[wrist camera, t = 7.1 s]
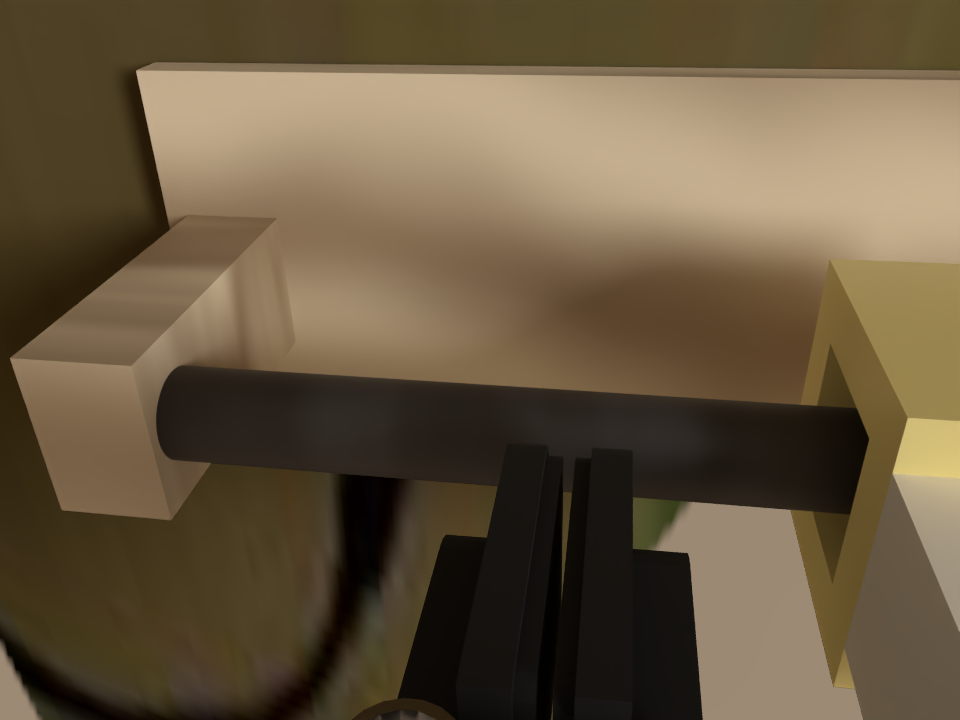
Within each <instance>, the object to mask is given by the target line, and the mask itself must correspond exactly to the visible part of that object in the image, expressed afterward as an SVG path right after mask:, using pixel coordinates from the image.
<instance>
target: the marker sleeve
mask: <svg viewBox="0 0 960 720" xmlns="http://www.w3.org/2000/svg"><path fill="white" fill-rule="evenodd" d="M801 405H814V406H830V407H845V408H857V410H858V412H859V415H860V417H861V419H862V422H863V424H864V427H865V429H866V432H867V434H868V437H869V442H868V446H867V450H866V454H865V458H864V462H863V466H862V470H861V474H860V478H859V482H858V486H857V490H856V494H855V498H854V502H853V506H852V509H851V513H850V515H849V514H837V513H825V512H812V511H800V510H791V514H792V518H793V522H794V526H795V530H796V534H797V539H798V543H799V547H800V551H801V555H802V559H803V563H804V567H805V572H806V576H807V580H808V584H809V588H810V592H811V597H812V601H813V605H814V609H815V613H816V617H817V621H818V625H819V629H820V634H821V638H822V642H823V646H824V650H825V654H826V658H827V662H828V667H829V671H830V675H831V679H832V683H833V687H839V688H848V689H855V690H856V693H857V697H858V701H859V704H860V708H861V712H862V716H863V720H960V264H948V263H923V262H898V261H873V260H848V259H829V264H828V269H827V274H826V279H825V284H824V289H823V294H822V300H821V305H820V310H819V315H818V320H817V325H816V330H815V335H814V340H813V345H812V350H811V355H810V360H809V365H808V370H807V375H806V380H805V385H804V390H803V395H802V400H801Z"/></svg>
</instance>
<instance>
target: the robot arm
mask: <svg viewBox="0 0 960 720" xmlns="http://www.w3.org/2000/svg"><path fill="white" fill-rule="evenodd" d="M562 520H563V456H549V451H548V445H541V444H524V443H508V444H507V447H506V452H505V456H504V461H503V466H502V470H501V475H500V480H499V484H498V489H497V494H496V498H495V503H494V508H493V512H492V517H491V521H490V526H489V531H488V535H487V538H482V537H469V536H456V535H445V537H444V538H443V540H442V543H441V546H440V549H439V552H438V556H437V560H436V563H435V567H434V570H433V574H432V577H431V581H430V585H429V588H428V592H427V595H426V599H425V602H424V606H423V610H422V613H421V617H420V620H419V624H418V627H417V631H416V634H415V638H414V642H413V645H412V649H411V652H410V656H409V659H408V663H407V667H406V670H405V674H404V677H403V681H402V684H401V688H400V692H399V695H398V699H394V700H388V701H383V702H380V703H378V704H376V705H374V706H372V707H369V708H367V709H365V710H363V711H362V712H361V713H359V714H358V715H357V716H356V717H354V718H353V719H352V720H551V715H552V705H553V720H703V718H702V708H701V693H700V682H699V668H698V657H697V645H696V634H695V633H696V631H695V621H694V607H693V595H692V583H691V571H690V561H689V556H688V553H678V552H666V551H653V550H639V549H633V451H632V450H625V449H609V448H592V456H591V458H579V457H576V458H575V468H574V479H573V489H572V499H571V510H570V520H569V531H568V541H567V552H566V562H565V572H564V583H563V593H562V604H561V591H562ZM553 694H554V695H553Z"/></svg>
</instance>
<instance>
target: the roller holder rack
mask: <svg viewBox="0 0 960 720" xmlns="http://www.w3.org/2000/svg"><path fill="white" fill-rule="evenodd" d="M136 73H137V78H138V82H139V87H140V92H141V96H142V101H143V106H144V110H145V115H146V120H147V124H148V129H149V134H150V138H151V143H152V148H153V152H154V157H155V161H156V166H157V171H158V175H159V180H160V185H161V189H162V194H163V199H164V203H165V208H166V213H167V217H168V222H169V227H170V230H169V231H168V232H167V233H165V234H164V235H163V236H162V237H160V238H159V239H158V240H157V241H155V242H154V243H153V244H152V245H150V246H149V247H148V248H147V249H145V250H144V251H143V252H142V253H141V254H139V255H138V256H137V257H136V258H134V259H133V260H132V261H131V262H129V263H128V264H127V265H126V266H124V267H123V268H122V269H121V270H119V271H118V272H117V273H116V274H114V275H113V276H112V277H111V278H109V279H108V280H107V281H106V282H104V283H103V284H102V285H101V286H99V287H98V288H97V289H96V290H94V291H93V292H92V293H91V294H89V295H88V296H87V297H86V298H84V299H83V300H82V301H81V302H79V303H78V304H77V305H76V306H74V307H73V308H72V309H71V310H69V311H68V312H67V313H66V314H64V315H63V316H62V317H61V318H59V319H58V320H57V321H56V322H54V323H53V324H52V325H51V326H49V327H48V328H47V329H46V330H44V331H43V332H42V333H41V334H39V335H38V336H37V337H36V338H34V339H33V340H32V341H31V342H29V343H28V344H27V345H26V346H24V347H23V348H22V349H21V350H19V351H18V352H17V353H16V354H14V355H13V356H12V357H11V358H10V360H11V363H12V366H13V369H14V372H15V375H16V378H17V381H18V384H19V387H20V390H21V392H22V395H23V398H24V401H25V404H26V407H27V410H28V413H29V416H30V419H31V422H32V425H33V428H34V430H35V433H36V436H37V439H38V442H39V445H40V448H41V451H42V454H43V457H44V460H45V463H46V466H47V469H48V471H49V474H50V477H51V480H52V483H53V486H54V489H55V492H56V495H57V498H58V501H59V504H60V507H61V509H62V510H65V511H76V512H87V513H98V514H109V515H120V516H131V517H142V518H153V519H164V520H172V518H173V517H174V516H175V514H176V513H177V511H178V510H179V508H180V507H181V506H182V504H183V503H184V501H185V500H186V498H187V497H188V496H189V494H190V493H191V491H192V490H193V488H194V487H195V486H196V484H197V483H198V481H199V480H200V478H201V477H202V476H203V474H204V473H205V471H206V470H207V468H208V467H209V465H210V464H211V463H216V464H228V465H241V466H253V467H265V468H278V469H290V470H303V471H315V472H327V473H340V474H352V475H365V476H377V477H390V478H402V479H414V480H427V481H439V482H452V483H464V484H477V485H489V486H498V484H499V480H500V475H501V470H502V466H503V461H504V456H505V452H506V447H507V444H508V443H524V444H541V445H548V451H549V456H563V491H564V492H572V489H573V479H574V468H575V458H576V457H579V458H591V456H592V448H609V449H625V450H632V451H633V497H638V498H651V499H663V500H675V501H688V502H700V503H713V504H726V505H738V506H750V507H763V508H775V509H787V510H788V509H789V510H800V511H812V512H825V513H837V514H849V515H850V513H851V509H852V506H853V502H854V498H855V494H856V490H857V486H858V482H859V478H860V474H861V470H862V466H863V462H864V458H865V454H866V450H867V446H868V442H869V437H868V434H867V432H866V429H865V427H864V424H863V422H862V419H861V417H860V415H859V412H858V410H857V408H845V407H830V406H814V405H801V400H802V395H803V390H804V385H805V380H806V375H807V370H808V365H809V360H810V355H811V350H812V345H813V340H814V335H815V330H816V325H817V320H818V315H819V310H820V305H821V300H822V294H823V289H824V284H825V279H826V274H827V269H828V264H829V259H848V260H873V261H898V262H923V263H948V264H960V71H952V70H854V69H757V68H659V67H562V66H465V65H367V64H270V63H173V62H155V63H152V64H150V65H148V66H145V67H143V68H141V69H138V70H136Z"/></svg>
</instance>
